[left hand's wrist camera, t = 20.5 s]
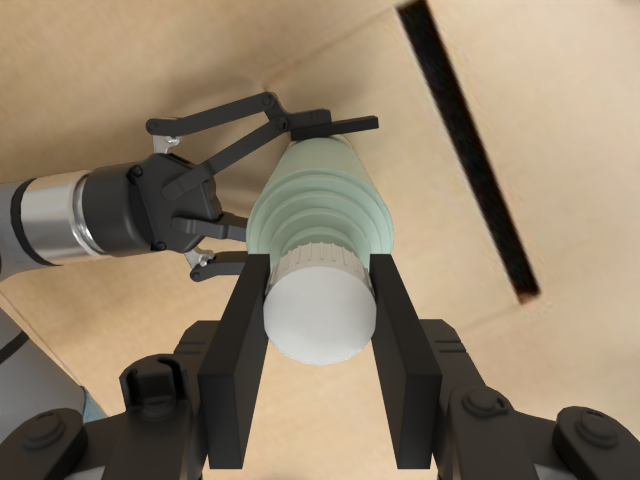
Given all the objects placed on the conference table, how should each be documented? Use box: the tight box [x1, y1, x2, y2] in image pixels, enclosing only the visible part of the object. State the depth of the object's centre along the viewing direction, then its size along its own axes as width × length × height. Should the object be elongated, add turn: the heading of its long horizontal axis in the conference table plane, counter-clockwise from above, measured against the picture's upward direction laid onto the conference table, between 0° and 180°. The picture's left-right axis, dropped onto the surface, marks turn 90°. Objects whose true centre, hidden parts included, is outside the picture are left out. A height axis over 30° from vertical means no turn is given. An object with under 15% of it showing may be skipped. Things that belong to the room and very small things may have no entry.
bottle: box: [246, 134, 394, 274], centre depth 25 cm, size 7×7×26 cm
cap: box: [263, 242, 376, 365], centre depth 14 cm, size 4×4×2 cm
